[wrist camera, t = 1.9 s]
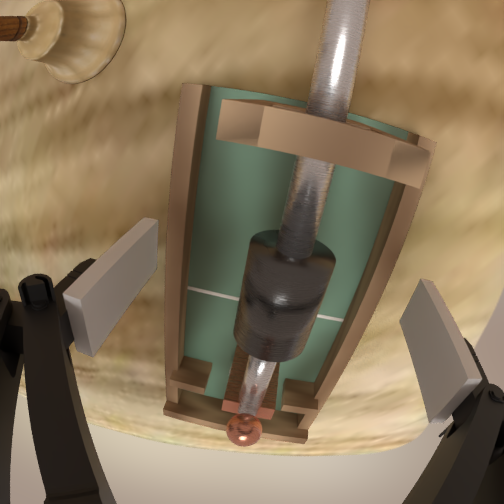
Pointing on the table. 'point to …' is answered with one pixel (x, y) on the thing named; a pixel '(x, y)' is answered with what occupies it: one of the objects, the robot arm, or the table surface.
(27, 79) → the table surface
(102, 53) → the hand bell
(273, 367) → the kicker
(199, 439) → the table surface
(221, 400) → the pitch
